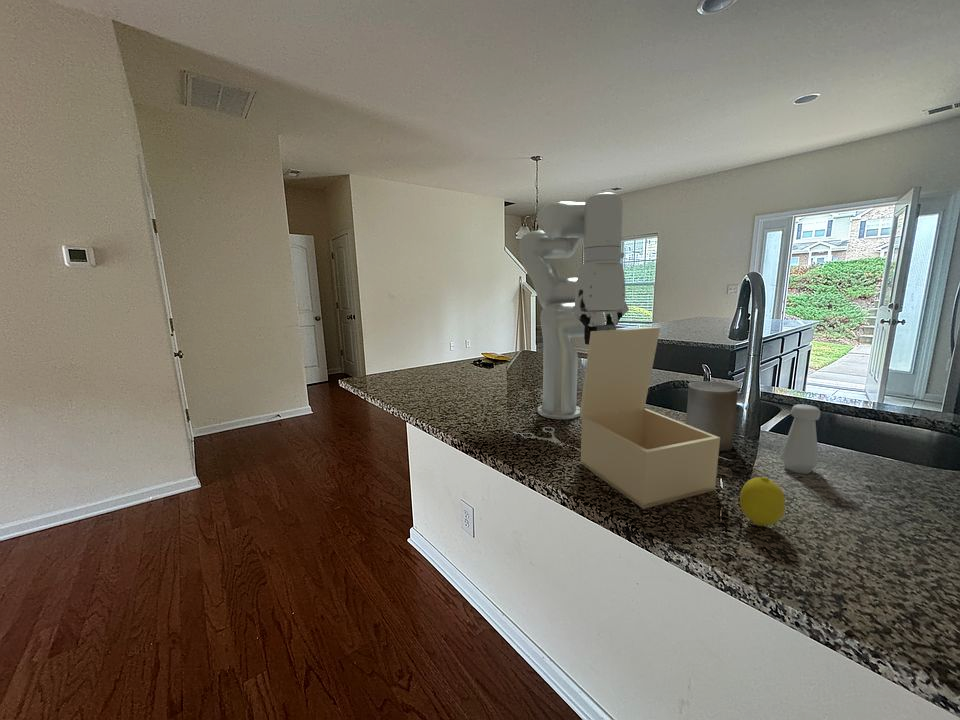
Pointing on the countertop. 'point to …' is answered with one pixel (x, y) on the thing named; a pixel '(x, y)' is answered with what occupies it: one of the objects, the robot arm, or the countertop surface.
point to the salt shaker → (802, 440)
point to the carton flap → (618, 369)
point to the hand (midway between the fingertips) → (599, 343)
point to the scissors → (545, 438)
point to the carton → (649, 456)
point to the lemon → (762, 501)
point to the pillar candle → (713, 410)
